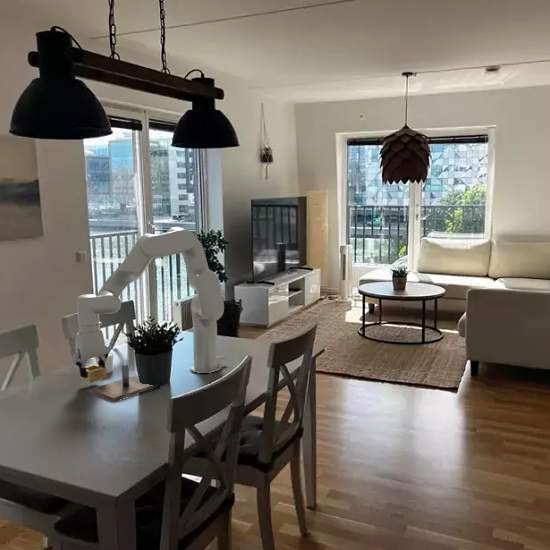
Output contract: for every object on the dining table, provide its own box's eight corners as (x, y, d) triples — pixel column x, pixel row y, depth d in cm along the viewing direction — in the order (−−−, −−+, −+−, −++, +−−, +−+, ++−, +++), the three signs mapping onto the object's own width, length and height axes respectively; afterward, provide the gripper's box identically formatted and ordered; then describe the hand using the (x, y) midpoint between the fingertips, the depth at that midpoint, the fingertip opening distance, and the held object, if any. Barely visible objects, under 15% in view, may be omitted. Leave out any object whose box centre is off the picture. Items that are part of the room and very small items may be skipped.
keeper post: (126, 384, 209) (125, 362, 208) (130, 385, 208) (129, 364, 206) (121, 385, 207) (120, 364, 206) (125, 387, 206) (124, 365, 205)
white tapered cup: (116, 369, 231) (115, 352, 230) (110, 374, 225) (109, 357, 224) (100, 368, 232) (99, 352, 231) (93, 374, 225) (92, 357, 224)
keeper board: (137, 378, 220) (136, 374, 220) (159, 386, 211) (159, 382, 211) (91, 392, 205) (91, 388, 204) (113, 402, 196) (113, 398, 196)
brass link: (96, 373, 216) (95, 363, 216) (106, 377, 212) (106, 367, 211) (79, 378, 211) (78, 368, 210) (90, 382, 206) (89, 372, 206)
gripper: (104, 321, 217) (107, 366, 220) (62, 331, 204) (66, 378, 207) (115, 324, 212) (118, 370, 215) (73, 334, 199) (77, 383, 202)
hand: (92, 374), depth 211 cm, fingers closed on brass link, 7 cm apart
